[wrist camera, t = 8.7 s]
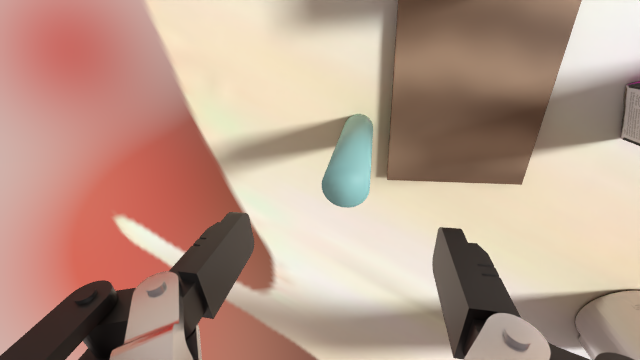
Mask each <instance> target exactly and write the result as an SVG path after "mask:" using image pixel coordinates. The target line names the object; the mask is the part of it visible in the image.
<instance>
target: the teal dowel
mask: <svg viewBox="0 0 640 360" xmlns="http://www.w3.org/2000/svg"><path fill="white" fill-rule="evenodd" d="M372 138H373V124H372V122H371V120H370V119H369V118H368V117H367V116H365V115H361V114H356V115H353V116H351V117H349V118H348V119H347V121H346V123H345V125H344V127H343V130H342V132H341V135H340V137H339V140H338V142H337V145H336V147H335V150H334V152H333V155H332V157H331V160H330V162H329V165H328V167H327V170H326V172H325V175H324V177H323V180H322V190H323V193H324V195H325V197H326V198H327V199H328V200H329V201H330V202H331V203H333V204H335V205H337V206H340V207H354V206H357V205H359V204H361V203H362V202H363V201H364V200H365V199H366V198H367V196H368V194H369V189H370V173H371V155H372Z"/></svg>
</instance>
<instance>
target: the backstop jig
mask: <svg viewBox="0 0 640 360" xmlns="http://www.w3.org/2000/svg"><path fill="white" fill-rule="evenodd" d="M581 1H582V0H398V12H397V28H396V44H395V59H394V75H393V91H392V106H391V122H390V138H389V153H388V169H387V180H407V181H436V182H464V183H493V184H521V185H522V182H523V179H524V176H525V173H526V170H527V166H528V163H529V160H530V157H531V154H532V151H533V148H534V145H535V142H536V139H537V136H538V133H539V130H540V127H541V123H542V120H543V117H544V114H545V111H546V108H547V105H548V102H549V99H550V96H551V93H552V90H553V87H554V84H555V81H556V77H557V74H558V71H559V68H560V65H561V62H562V59H563V56H564V53H565V50H566V47H567V44H568V41H569V38H570V34H571V31H572V28H573V25H574V22H575V19H576V16H577V13H578V10H579V7H580V4H581Z"/></svg>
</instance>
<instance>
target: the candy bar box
mask: <svg viewBox="0 0 640 360" xmlns="http://www.w3.org/2000/svg"><path fill="white" fill-rule="evenodd" d="M621 139H623V140H626V141H628V142H631V143H634V144H636V145H639V146H640V81H638V82H634V83H630V84H627V85H626V89H625V95H624V115H623V122H622V133H621Z"/></svg>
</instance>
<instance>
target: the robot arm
mask: <svg viewBox="0 0 640 360" xmlns="http://www.w3.org/2000/svg"><path fill="white" fill-rule="evenodd" d="M253 249H254V238H253V233H252V228H251V224H250V219H249V216H248V214H247V213H237V212H229V213H228V214H227V215H226V216H225V217H224V219H223V220H222V221H221V222H217V223H216V224H215V225H213V226H211V227H210V228H208V229H207V230H206V231H205V232H204V233H203V234H202V235H201V236H200V238H199V239H198V240H197V241H196V242H195V243H194V245H193V246H191V247H190V248H189V250H188V251H187V252H186V253H185V254H184V255H183V256H182V257H181V258H180V260H179V261H178V262H177V263H176V264H175V265H174V266H173V267H172V268H171V270H170V271H169V272H161V273H157V274H155V275H152V276H150V277H149V278H147V279H145V280H144V281H143V282H142V283H140V284H139V285H138V286H137V288H132V289H126V290H119V291H115V290H114V288H113V286H112V285H111V283H110V282H108V281H96V282H92V283H90V284H87V285H85V286H83V287H81V288H79V289H77V290H76V291H74V292H73V293H72V294H70V295H69V296H68V297H67V298H66V299H65V300H63V301H62V302H61V303H60V304H59V305H58V306H57V307H56V308H54V309H53V310H52V311H51V312H50V313H49V314H47V315H46V316H45V317H44V318H43V319H42V320H41V321H40V322H38V323H37V324H36V325H35V326H34V327H33V328H31V330H30V331H28V332H27V333H26V334H25V335H24V336H23V337H21V338H20V339H19V340H18V341H17V342H16V343H14V344H13V345H12V346H11V347H10V348H9V349H8V350H7V351H5V352H4V353H3V354H2V355H1V356H0V360H65V359H66V358H67V357H68V356H69V355H70V354H71V352H73V351H74V350H75V348H76V347H77V346H78V345H79V344H80V343H81V342H82V341H83V342H84V343H85V344H86V346H87V347H88V349H87V350H86V352H85V353H84V354H83V355H82V356H81V357H80V358H79V359H78V360H202V356H201V345H200V334H199V326H198V323H199V321H200V319H201V318H202V317H205V318H212V319H214V317H215V315H216V314H217V312H218V310H219V308H220V307H221V305H222V303H223V302H224V300H225V298H226V297H227V295H228V293H229V292H230V290H231V288H232V287H233V285H234V283H235V281H236V280H237V278H238V276H239V274H240V273H241V271H242V269H243V268H244V266H245V265H246V263H247V261H248V259H249V258H250V256H251V254H252V252H253ZM433 273H434V278H435V282H436V286H437V290H438V295H439V299H440V303H441V307H442V311H443V316H444V320H445V324H446V328H447V332H448V337H449V341H450V345H451V349H452V353H453V358H458V359H464V360H589V359H587V358H584V357H582V356H579V355H577V354H574V353H571V352H569V351H566V350H564V349H561V348H559V347H556V346H554V345H552V344H550V343H548V342H547V340H546V339H545V337H544V336H543V335H542V334H541V332H540V331H539V330H538V329H536V328H535V327H534V326H533V325H532V324H530V323H529V322H527V321H526V320H524V319H522V318H521V317H520V315H519V313H518V311H517V309H516V307H515V306H514V304H513V302H512V300H511V298H510V296H509V294H508V292H507V290H506V288H505V286H504V284H503V282H502V280H501V278H499V274H498V272H497V271H496V269H495V268H494V265H493V263H492V261H491V259H490V257H489V255H488V253H486V252H485V251H484V250H483V249H482V248H481V247H480V246H479V245H478V244H477V243H468V242H467V240H466V238H465V235H464V233H463V231H462V230H461V229H456V228H442V227H440V228H439V229H438V233H437V238H436V244H435V249H434V254H433ZM575 324H576V328H577V330H578V331H579V333H580V337H579V339H578V340H579V342H580V343H581V345H582V346H583V348H584V349H585V350H586V352H587V353H588V355H589V356H590V358H591V359H592V360H640V291H622V292H617V293H612V294H609V295H605V296H602V297H600V298H597V299H595V300H593V301H591V302H590V303H588V304H587V305H585V306H584V307H583V308H582V309H581V310H580V311H579V313H578V314H577V316H576V320H575Z"/></svg>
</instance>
